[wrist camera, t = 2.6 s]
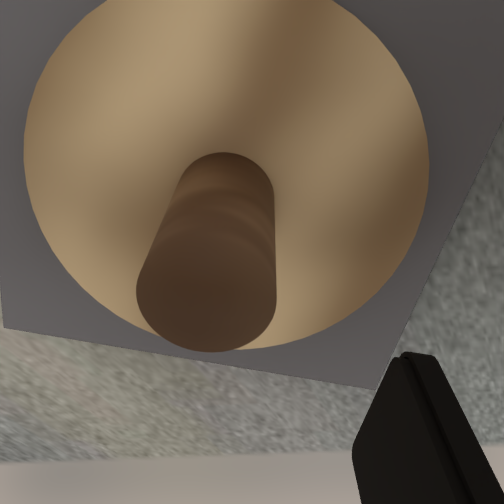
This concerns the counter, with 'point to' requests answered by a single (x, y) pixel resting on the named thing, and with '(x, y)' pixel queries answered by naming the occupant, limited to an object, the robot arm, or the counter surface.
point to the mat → (378, 306)
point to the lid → (226, 166)
